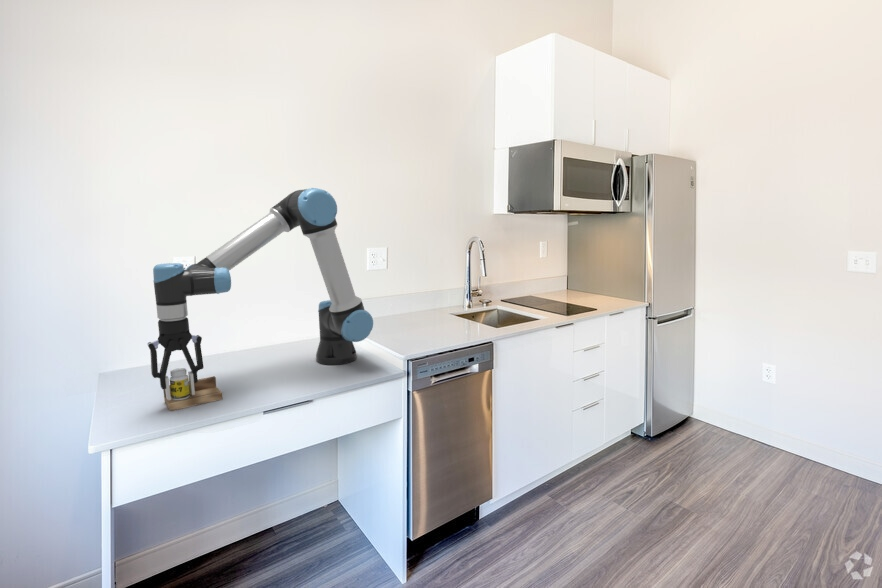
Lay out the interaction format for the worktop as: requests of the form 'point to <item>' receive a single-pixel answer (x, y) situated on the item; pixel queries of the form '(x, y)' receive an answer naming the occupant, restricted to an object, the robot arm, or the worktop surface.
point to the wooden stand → (197, 394)
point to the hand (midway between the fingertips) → (180, 396)
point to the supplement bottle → (179, 384)
